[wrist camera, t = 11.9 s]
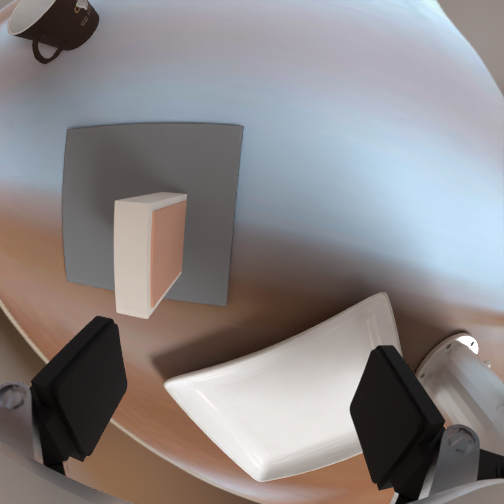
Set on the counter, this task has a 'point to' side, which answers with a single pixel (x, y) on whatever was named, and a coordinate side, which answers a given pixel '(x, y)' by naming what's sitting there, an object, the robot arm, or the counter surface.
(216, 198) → the mat
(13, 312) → the counter surface
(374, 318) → the square plate
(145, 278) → the tile
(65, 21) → the coffee mug
